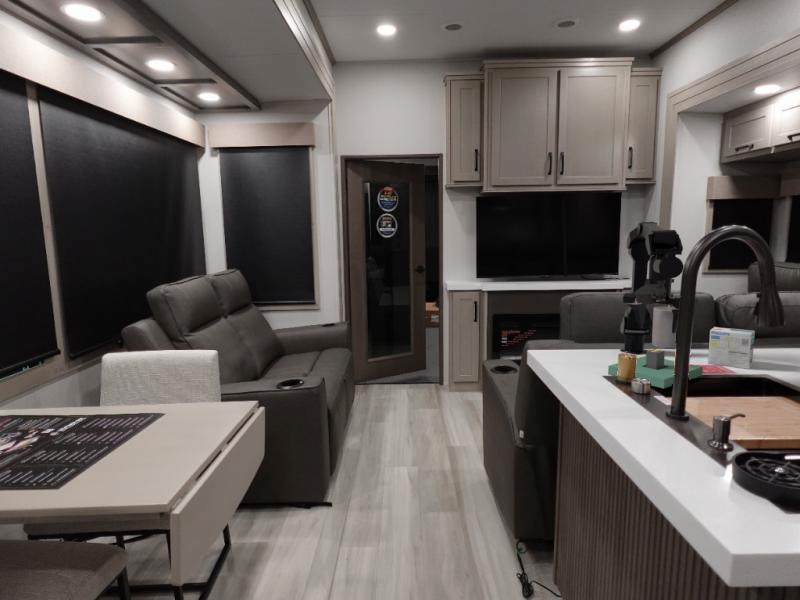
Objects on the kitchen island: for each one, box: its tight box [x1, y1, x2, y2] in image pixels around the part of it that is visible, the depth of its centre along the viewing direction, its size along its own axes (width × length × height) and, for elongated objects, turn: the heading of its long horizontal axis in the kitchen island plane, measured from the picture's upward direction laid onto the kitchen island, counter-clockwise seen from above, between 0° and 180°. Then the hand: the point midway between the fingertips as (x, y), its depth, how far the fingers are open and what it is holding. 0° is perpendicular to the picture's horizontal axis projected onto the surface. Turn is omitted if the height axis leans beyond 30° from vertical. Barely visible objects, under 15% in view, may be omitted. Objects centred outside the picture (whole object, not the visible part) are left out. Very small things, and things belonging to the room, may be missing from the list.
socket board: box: [607, 355, 704, 389], centre depth 136 cm, size 20×16×2 cm
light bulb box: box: [707, 326, 756, 370], centre depth 145 cm, size 11×7×11 cm, turn 47°
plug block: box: [645, 348, 666, 370], centre depth 135 cm, size 4×3×7 cm
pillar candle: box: [651, 304, 676, 350], centre depth 169 cm, size 10×10×15 cm
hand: (657, 330), depth 134 cm, fingers open, 9 cm apart
